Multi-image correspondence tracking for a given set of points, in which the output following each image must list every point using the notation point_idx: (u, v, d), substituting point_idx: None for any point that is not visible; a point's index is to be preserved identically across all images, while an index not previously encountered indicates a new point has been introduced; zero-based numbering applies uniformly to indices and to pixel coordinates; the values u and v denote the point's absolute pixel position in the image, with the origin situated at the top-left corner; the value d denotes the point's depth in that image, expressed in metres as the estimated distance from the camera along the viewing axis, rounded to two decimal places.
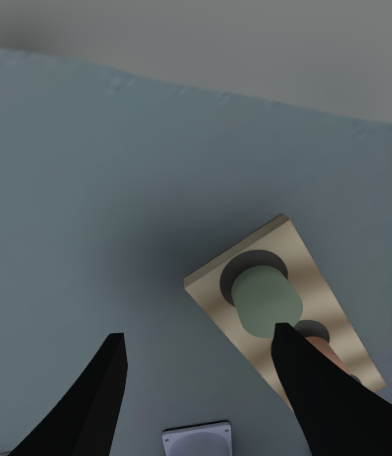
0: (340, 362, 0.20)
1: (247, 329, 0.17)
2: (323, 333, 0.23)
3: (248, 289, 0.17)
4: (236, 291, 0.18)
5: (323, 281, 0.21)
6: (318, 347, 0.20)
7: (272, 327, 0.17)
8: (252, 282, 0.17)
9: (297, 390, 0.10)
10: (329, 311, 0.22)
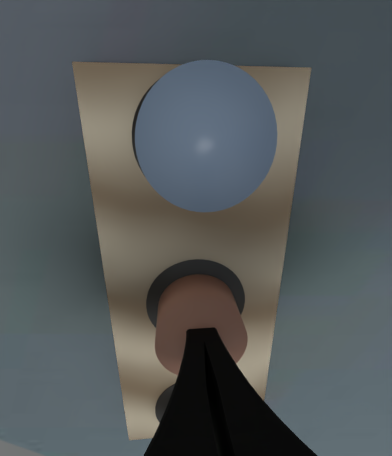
0: None
1: None
2: (153, 300, 0.14)
3: None
4: None
5: (121, 372, 0.16)
6: None
7: None
8: None
9: (210, 398, 0.10)
10: (130, 330, 0.15)
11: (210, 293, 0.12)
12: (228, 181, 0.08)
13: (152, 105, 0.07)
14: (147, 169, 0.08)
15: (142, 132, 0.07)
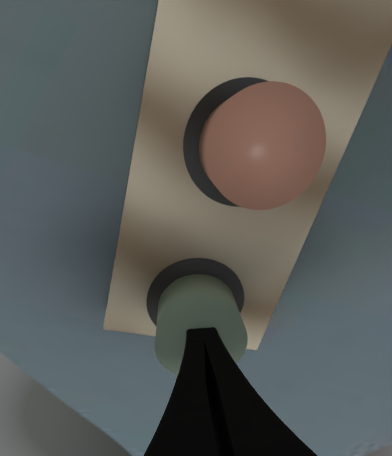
0: (205, 157, 0.09)
1: (243, 347, 0.12)
2: (196, 125, 0.11)
3: None
4: None
5: (124, 224, 0.13)
6: None
7: (220, 326, 0.11)
8: None
9: (210, 398, 0.10)
10: (154, 162, 0.12)
11: None
12: None
13: None
14: None
15: None
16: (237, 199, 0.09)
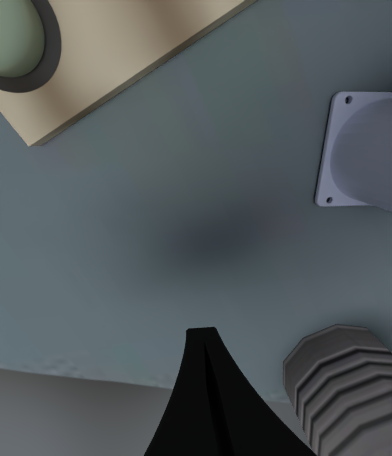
0: None
1: None
2: None
3: None
4: None
5: None
6: None
7: None
8: None
9: (210, 398, 0.10)
10: None
11: None
12: None
13: None
14: None
15: None
16: None
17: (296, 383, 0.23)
